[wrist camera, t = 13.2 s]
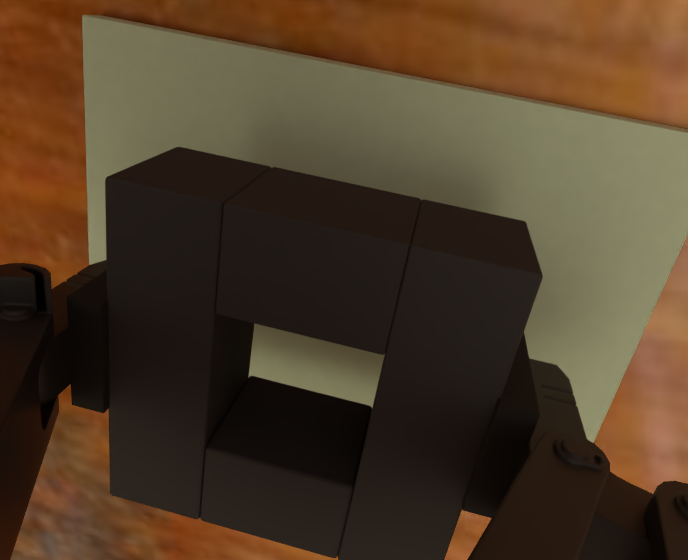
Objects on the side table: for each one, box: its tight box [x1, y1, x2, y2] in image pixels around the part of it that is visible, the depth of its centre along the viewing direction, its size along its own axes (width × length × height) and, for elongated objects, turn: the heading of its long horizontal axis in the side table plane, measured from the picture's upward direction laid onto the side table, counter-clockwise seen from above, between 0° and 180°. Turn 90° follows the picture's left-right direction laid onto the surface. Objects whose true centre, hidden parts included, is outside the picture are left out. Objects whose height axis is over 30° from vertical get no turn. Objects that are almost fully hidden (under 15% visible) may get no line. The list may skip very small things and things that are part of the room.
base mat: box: [82, 15, 688, 443], centre depth 17 cm, size 12×18×4 cm, turn 80°
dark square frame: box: [105, 147, 543, 560], centre depth 13 cm, size 8×8×3 cm
